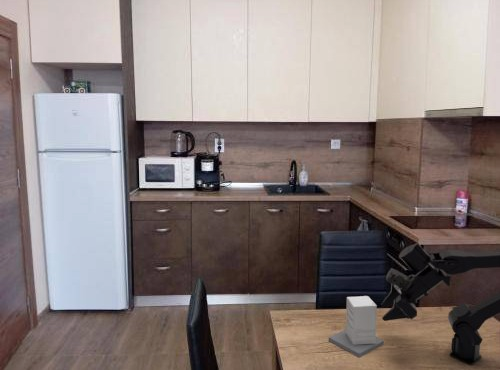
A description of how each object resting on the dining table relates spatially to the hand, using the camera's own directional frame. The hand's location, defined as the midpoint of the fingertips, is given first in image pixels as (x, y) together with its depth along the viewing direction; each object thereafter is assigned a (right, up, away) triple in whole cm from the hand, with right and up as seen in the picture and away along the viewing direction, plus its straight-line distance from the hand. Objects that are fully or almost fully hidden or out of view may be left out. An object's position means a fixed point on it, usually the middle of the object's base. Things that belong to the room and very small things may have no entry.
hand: (382, 312), depth 126 cm
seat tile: (-7, -11, +4) cm, 13 cm away
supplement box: (-6, -9, +4) cm, 12 cm away
